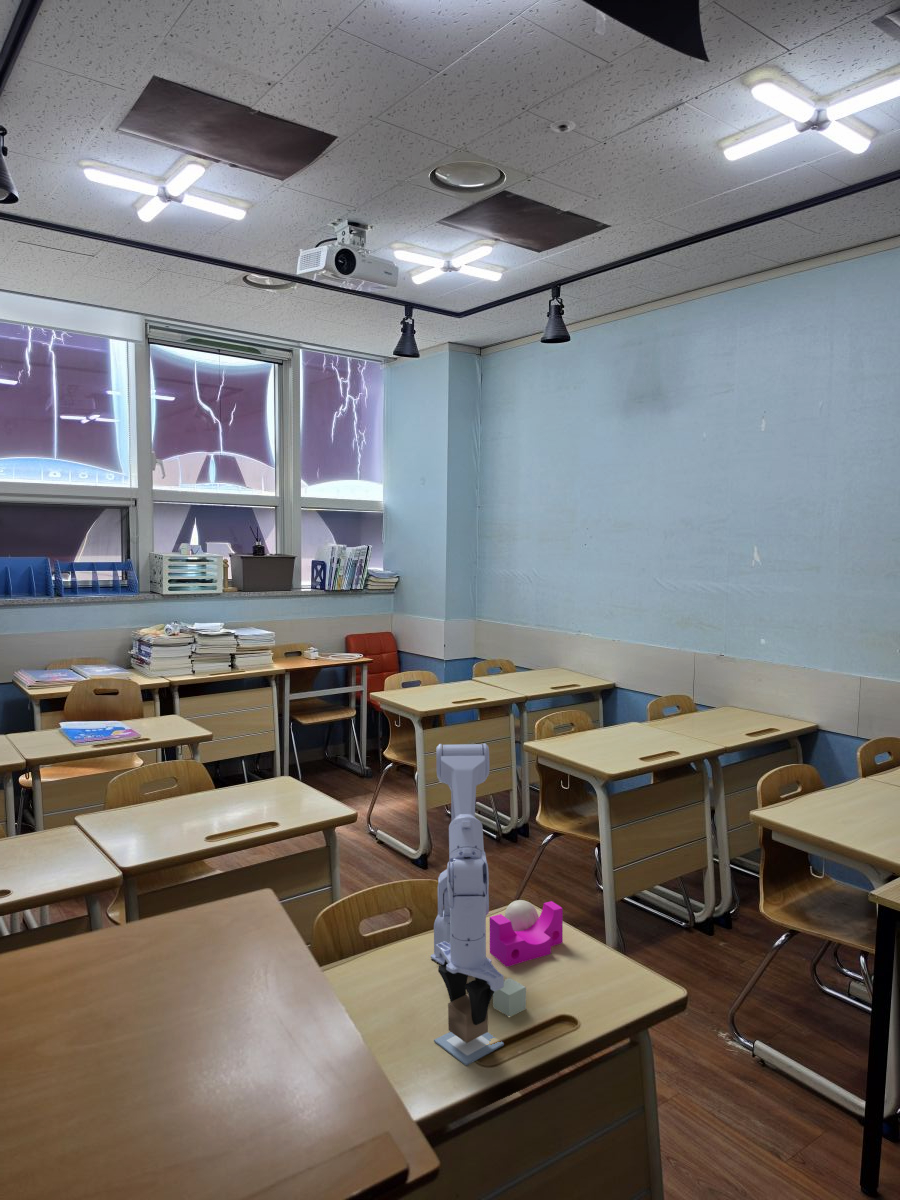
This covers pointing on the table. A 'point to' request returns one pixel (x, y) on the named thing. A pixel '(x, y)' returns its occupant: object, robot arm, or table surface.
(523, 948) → the toy block
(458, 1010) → the walnut cube
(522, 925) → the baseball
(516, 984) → the sage cube
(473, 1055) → the pad
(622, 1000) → the table surface
